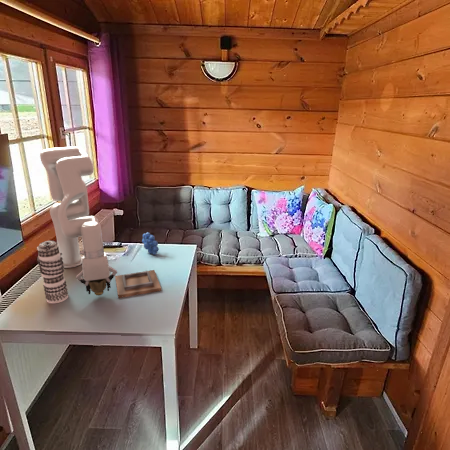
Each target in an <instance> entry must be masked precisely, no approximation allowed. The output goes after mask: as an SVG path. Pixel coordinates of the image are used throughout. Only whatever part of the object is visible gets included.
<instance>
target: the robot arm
mask: <svg viewBox="0 0 450 450" xmlns="http://www.w3.org/2000/svg"><path fill="white" fill-rule="evenodd" d="M39 158H40V161H41V164H42V166H43V167H44V169H45V171H46V172H47V176H48V177H47V178H48V179H47V180H48V185H49V191H50V195H51V199H53V201H54V202H57V203H55V204H52V205H50V208H49V214H50V218H51V220H52V223H53V227H54V232H55V236H56V243H58V244H59V251H60V253H62V255H60V257H62V258H63V260H62V261H63V264H62V265H63V266H64V268H63V269H72V268H77V267H78V266H81V267H82V270H81V271H80V272H79V273H78V274H76V276H75V279H76V280H77V281H78V282H80V283H81V284H83V285H84V286H85V289H86V292H88V295H91V289H90V286H89V282H88V281H92V280H99V279H105V278H106V289H107V291H108V292H110V289H111V288H112V287H111V281H112V280H113V279H115V276H117V275H118V271H117V269H116V268H115V269H114V268H113V267H111V266H110V265H109V259H108V255H107V253H106V252H105V251H104V241H103V233H102V232H103V231H102V225H101V224H100V221H99V218H97V217H96V216H94V215H90V206H89V205H90V204H89V197H88V195H89V194H88V188H87V185H86V183H85V181H84V180H83V178H82V177H86V176H91V175H93V173H94V164H93V162H92V159H91V157H90V156H89V155H88V153H87V152H86V151H85V150H84V149H83V148H82V147H81V146H64V147H61V146H60V147H51V148H45V149H43V150H41V152H40V154H39ZM79 238H81V242H82V243H81V244H82V248H83V249H82V250H80V249H81V248H80V244H79ZM81 255H82V256H81ZM107 291H106V292H107Z"/></svg>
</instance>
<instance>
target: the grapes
mask: <svg viewBox="0 0 450 450" xmlns="http://www.w3.org/2000/svg"><path fill="white" fill-rule="evenodd" d="M141 242H142V243H143V247H144V249H145V250H147V253H148V254H150V255H152V254H153V255H157V253H158V252H159V250H160V248H159V247H158V244H159V243H158V241H157V240H155V235H153V234H151V233H150V232H148V231H147V232H146V233H143V234H142V239H141Z"/></svg>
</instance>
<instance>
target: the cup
mask: <svg viewBox="0 0 450 450" xmlns="http://www.w3.org/2000/svg"><path fill="white" fill-rule="evenodd" d="M88 282H89V286H90V292H92V293H93V294H94V295H95V296H102V295H103V294H104V291H105V290H106V289H107V283H106V278H105V279H99V280H92V281H88Z"/></svg>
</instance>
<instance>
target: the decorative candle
mask: <svg viewBox="0 0 450 450" xmlns="http://www.w3.org/2000/svg"><path fill="white" fill-rule="evenodd" d="M36 250H37V255H38V256H37V258H36V260H37V265H39V266H38V268H39V272H40V275H41V277H42V279H43V280H42V281H43V285H42V286H43V291H44V295H45V299H46V302H47V303H48V304H54V305H55V304H59V303H62V302H64V301H66V300H67V299H68V298H69V294H68V293H69V292H68V287H67V286H68V285H67V281H66V278H65V276H64V272H65V268H64V266H63V265H62V264H63V261H62V260H63V258H62V257H60V255H62V253H60V251H59V244H58V243H57V241H54V240H45V241H43V242H40V243H39V245H38V246H37V247H36Z"/></svg>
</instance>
